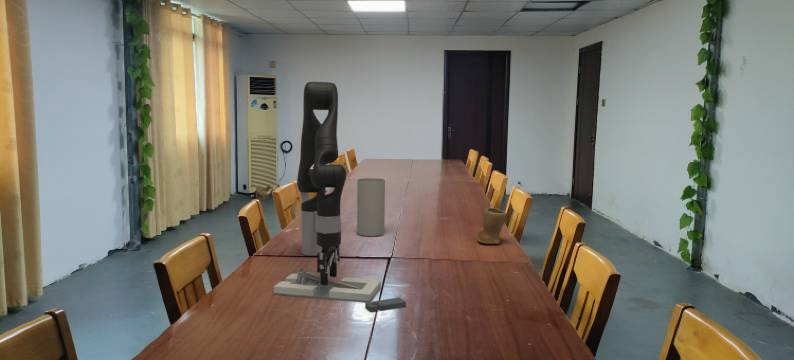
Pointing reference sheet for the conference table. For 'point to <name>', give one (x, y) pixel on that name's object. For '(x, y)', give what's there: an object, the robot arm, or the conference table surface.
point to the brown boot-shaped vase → (491, 226)
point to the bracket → (385, 304)
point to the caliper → (316, 279)
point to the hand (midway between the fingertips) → (328, 280)
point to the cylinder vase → (370, 207)
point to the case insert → (330, 289)
